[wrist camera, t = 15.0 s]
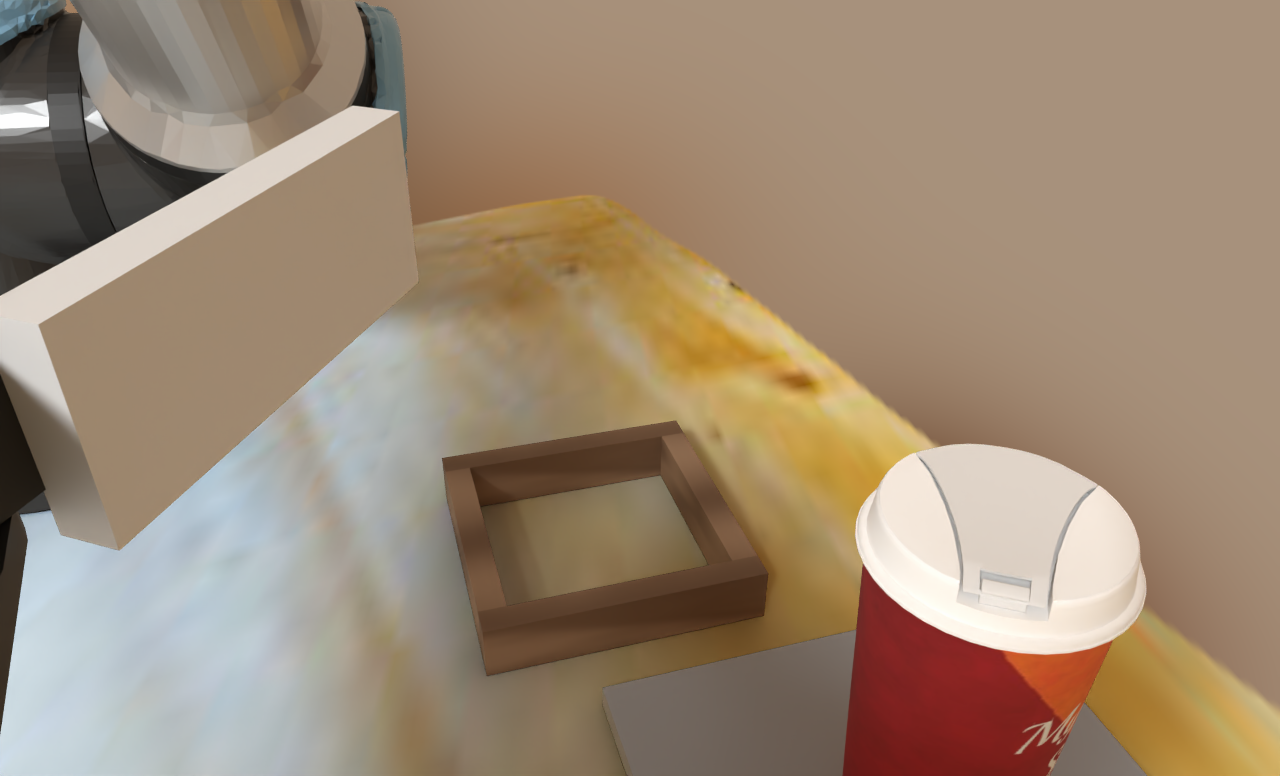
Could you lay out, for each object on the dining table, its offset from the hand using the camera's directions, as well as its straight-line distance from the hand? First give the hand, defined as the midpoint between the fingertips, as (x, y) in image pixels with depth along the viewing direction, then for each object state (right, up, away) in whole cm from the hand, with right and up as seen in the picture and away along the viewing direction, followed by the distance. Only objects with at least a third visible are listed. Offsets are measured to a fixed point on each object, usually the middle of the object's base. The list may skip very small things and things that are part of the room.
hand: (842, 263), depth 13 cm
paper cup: (+7, -17, +21) cm, 28 cm away
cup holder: (-5, -10, +34) cm, 36 cm away
